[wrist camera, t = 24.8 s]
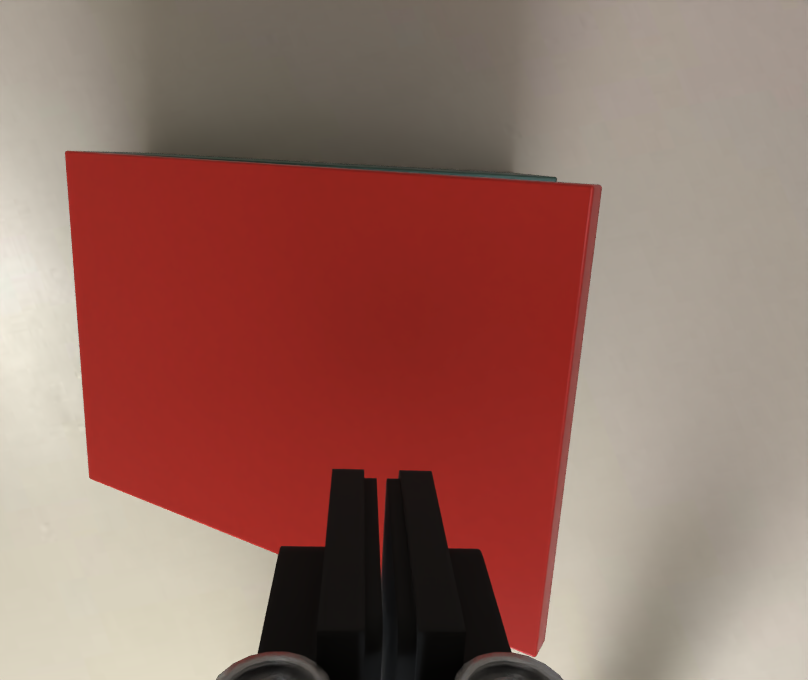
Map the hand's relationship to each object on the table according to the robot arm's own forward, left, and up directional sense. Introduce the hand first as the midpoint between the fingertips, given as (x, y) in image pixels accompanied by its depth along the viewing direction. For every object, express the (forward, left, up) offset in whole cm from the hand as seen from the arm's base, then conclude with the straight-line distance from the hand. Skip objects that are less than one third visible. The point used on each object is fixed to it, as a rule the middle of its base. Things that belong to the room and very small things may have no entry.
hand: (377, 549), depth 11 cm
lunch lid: (0, -3, -11) cm, 11 cm away
